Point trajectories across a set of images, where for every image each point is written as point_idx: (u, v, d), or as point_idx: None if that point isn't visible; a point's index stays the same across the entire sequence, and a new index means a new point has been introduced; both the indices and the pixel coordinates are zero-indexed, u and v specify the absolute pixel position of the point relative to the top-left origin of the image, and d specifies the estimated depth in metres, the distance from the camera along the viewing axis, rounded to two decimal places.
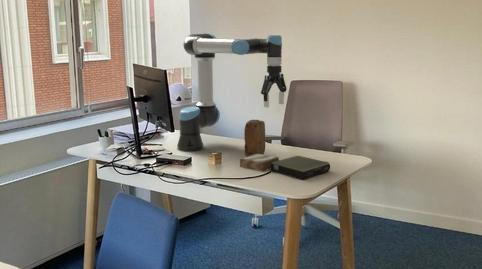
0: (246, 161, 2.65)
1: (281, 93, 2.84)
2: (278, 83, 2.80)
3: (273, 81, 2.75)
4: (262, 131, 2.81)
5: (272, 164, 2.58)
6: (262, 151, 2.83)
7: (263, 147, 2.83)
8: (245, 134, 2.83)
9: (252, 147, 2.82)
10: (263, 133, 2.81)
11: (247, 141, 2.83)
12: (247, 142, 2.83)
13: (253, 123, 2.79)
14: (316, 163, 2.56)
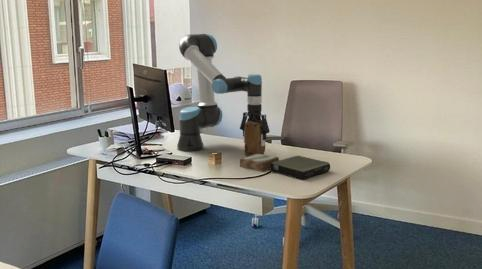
0: (246, 161, 2.65)
1: None
2: None
3: (248, 119, 2.83)
4: None
5: (272, 164, 2.58)
6: (262, 151, 2.83)
7: (263, 147, 2.83)
8: (245, 134, 2.83)
9: (252, 147, 2.82)
10: None
11: (247, 141, 2.83)
12: (247, 142, 2.83)
13: (253, 123, 2.79)
14: (316, 163, 2.56)
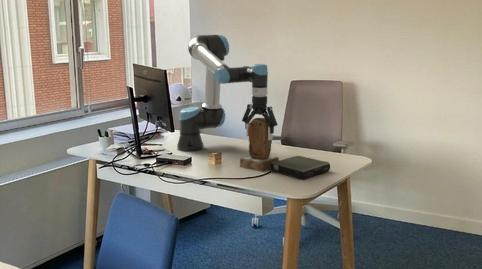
0: (246, 161, 2.65)
1: None
2: None
3: (252, 111, 2.64)
4: None
5: (272, 164, 2.58)
6: (268, 151, 2.64)
7: (269, 147, 2.64)
8: (249, 133, 2.64)
9: (257, 147, 2.63)
10: None
11: (252, 140, 2.64)
12: (252, 142, 2.64)
13: (258, 122, 2.60)
14: (316, 163, 2.56)
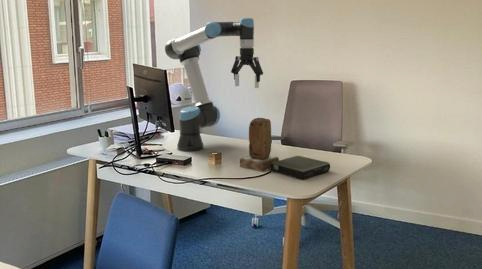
0: (246, 161, 2.65)
1: None
2: None
3: (240, 62, 2.86)
4: (268, 130, 2.62)
5: (272, 164, 2.58)
6: (268, 151, 2.64)
7: (269, 147, 2.64)
8: (249, 133, 2.65)
9: (257, 147, 2.63)
10: (268, 132, 2.63)
11: (252, 140, 2.64)
12: (252, 142, 2.65)
13: (258, 121, 2.61)
14: (316, 163, 2.56)
